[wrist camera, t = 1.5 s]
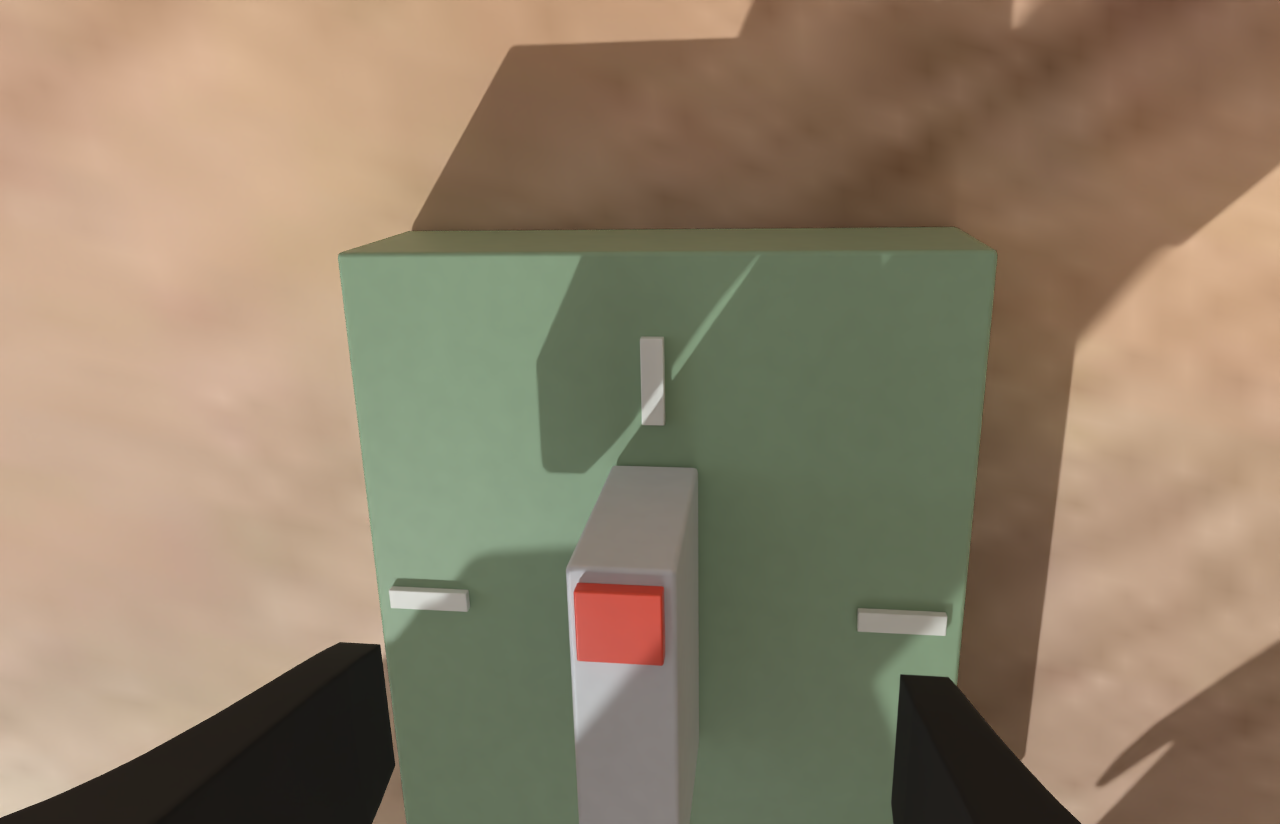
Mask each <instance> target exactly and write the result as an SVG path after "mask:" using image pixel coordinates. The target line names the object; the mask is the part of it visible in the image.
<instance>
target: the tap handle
mask: <svg viewBox="0 0 1280 824" xmlns="http://www.w3.org/2000/svg"><path fill="white" fill-rule="evenodd" d="M566 582H567V601H568V620H569V640H570V659H571V678H572V697H573V716H574V736H575V755H576V774H577V793H578V813H579V824H689V823H690V815H691V806H692V797H693V789H694V780H695V772H696V763H697V754H698V746H699V605H698V471H697V469H695V468H682V467H646V466H613V467H612V469H611V471H610V473H609V475H608V477H607V480H606V482H605V484H604V486H603V488H602V490H601V493H600V495H599V497H598V499H597V501H596V504H595V506H594V508H593V510H592V512H591V515H590V517H589V519H588V521H587V523H586V526H585V528H584V530H583V532H582V534H581V537H580V539H579V541H578V543H577V545H576V548H575V550H574V552H573V554H572V556H571V559H570V561H569V563H568V565H567V568H566Z"/></svg>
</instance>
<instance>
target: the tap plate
mask: <svg viewBox="0 0 1280 824" xmlns="http://www.w3.org/2000/svg"><path fill="white" fill-rule="evenodd" d="M997 256H998V255H997V252H996V250H994V249H992V248H991V247H989V246H987V245H985V244H984V243H982V242H980V241H979V240H977V239H975V238H974V237H972V236H970V235H969V234H967V233H965V232H964V231H962V230H960V229H958V228H956V227H884V228H752V229H620V230H488V231H408V232H405V233H402V234H398V235H395V236H392V237H389V238H386V239H382V240H379V241H376V242H373V243H370V244H367V245H363V246H360V247H357V248H354V249H351V250H347V251H344V252H342V253H339V256H338V261H339V270H340V278H341V286H342V295H343V303H344V311H345V319H346V328H347V336H348V344H349V352H350V361H351V369H352V377H353V385H354V394H355V402H356V410H357V418H358V427H359V435H360V443H361V451H362V460H363V468H364V476H365V484H366V493H367V501H368V509H369V518H370V526H371V534H372V542H373V551H374V559H375V567H376V575H377V584H378V592H379V600H380V608H381V617H382V625H383V633H384V641H385V650H386V658H387V666H388V674H389V683H390V691H391V699H392V708H393V716H394V724H395V732H396V741H397V749H398V757H399V765H400V774H401V782H402V790H403V798H404V807H405V815H406V823H407V824H579V813H578V793H577V774H576V755H575V736H574V716H573V697H572V678H571V659H570V640H569V620H568V601H567V582H566V568H567V565H568V563H569V561H570V559H571V556H572V554H573V552H574V550H575V548H576V545H577V543H578V541H579V539H580V537H581V534H582V532H583V530H584V528H585V526H586V523H587V521H588V519H589V517H590V515H591V512H592V510H593V508H594V506H595V504H596V501H597V499H598V497H599V495H600V493H601V490H602V488H603V486H604V484H605V482H606V480H607V477H608V475H609V473H610V471H611V469H612V467H613V466H646V467H682V468H695V469H697V471H698V605H699V746H698V754H697V763H696V772H695V780H694V789H693V797H692V806H691V815H690V823H689V824H893V816H892V807H891V797H892V783H893V769H894V756H895V742H896V728H897V714H898V701H899V687H900V674H905V675H922V676H940V677H949V678H950V679H951V680H952V681H953V682H954V684H955V685H956V686H957V681H958V670H959V659H960V649H961V638H962V627H963V617H964V606H965V596H966V585H967V574H968V564H969V553H970V542H971V532H972V521H973V511H974V500H975V489H976V479H977V468H978V457H979V447H980V436H981V426H982V415H983V404H984V394H985V383H986V372H987V362H988V351H989V341H990V330H991V319H992V309H993V298H994V287H995V277H996V266H997Z"/></svg>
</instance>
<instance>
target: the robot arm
mask: <svg viewBox="0 0 1280 824" xmlns="http://www.w3.org/2000/svg"><path fill="white" fill-rule="evenodd" d="M394 767H395V760H394V752H393V744H392V736H391V728H390V720H389V712H388V704H387V696H386V688H385V679H384V671H383V663H382V655H381V647H380V645H378V644H360V643H343V642H340V643H338V644H336V645H334V646H332V647H329V648H327V649H326V650H324V651H322V652H320V653H318V654H316V655H315V656H313V657H311V658H309V659H308V660H306V661H304V662H303V663H301V664H299V665H297V666H296V667H294V668H292V669H291V670H289V671H287V672H286V673H284V674H282V675H281V676H279V677H278V678H276V679H274V680H273V681H271V682H269V683H268V684H266V685H264V686H263V687H261V688H259V689H258V690H256V691H254V692H253V693H251V694H249V695H248V696H246V697H244V698H243V699H241V700H239V701H238V702H236V703H234V704H233V705H231V706H229V707H228V708H226V709H224V710H223V711H221V712H219V713H217V714H216V715H214V716H212V717H210V718H209V719H207V720H205V721H203V722H201V723H200V724H198V725H196V726H194V727H192V728H191V729H189V730H187V731H185V732H183V733H182V734H180V735H178V736H176V737H174V738H172V739H171V740H169V741H167V742H165V743H163V744H162V745H160V746H158V747H156V748H154V749H153V750H151V751H149V752H147V753H145V754H143V755H141V756H139V757H137V758H135V759H134V760H132V761H130V762H128V763H126V764H124V765H121V766H119V767H117V768H115V769H113V770H111V771H109V772H107V773H105V774H103V775H101V776H99V777H96V778H94V779H92V780H90V781H88V782H85V783H83V784H81V785H79V786H77V787H75V788H72V789H70V790H68V791H66V792H64V793H61V794H59V795H57V796H54V797H52V798H50V799H47V800H45V801H42V802H40V803H37V804H35V805H32V806H30V807H27V808H24V809H22V810H19V811H17V812H14V813H12V814H9V815H7V816H4V817H1V818H0V824H372V822H373V820H374V817H375V815H376V813H377V810H378V808H379V806H380V803H381V801H382V798H383V796H384V793H385V790H386V788H387V785H388V783H389V780H390V777H391V775H392V772H393V770H394ZM891 807H892V816H893V824H1081V823H1080V822H1079V821H1078V820H1077V819H1076V818H1075V817H1074V816H1073V815H1072V814H1071V813H1070V812H1069V811H1068V810H1067V809H1066V808H1065V807H1063V806H1062V805H1061V804H1060V803H1059V802H1058V801H1057V800H1056V799H1055V797H1054V796H1053V795H1052V794H1051V793H1050V792H1049V791H1048V790H1047V789H1046V788H1045V787H1044V786H1043V785H1042V784H1041V783H1040V782H1039V781H1038V780H1037V778H1036V777H1035V776H1034V775H1033V774H1032V773H1031V772H1030V771H1029V770H1028V769H1027V768H1026V767H1025V765H1024V764H1023V763H1022V762H1021V761H1020V760H1019V759H1018V758H1017V757H1016V756H1015V755H1014V753H1013V752H1012V751H1011V750H1010V749H1009V748H1008V747H1007V745H1006V744H1005V743H1004V742H1003V741H1002V740H1001V739H1000V737H999V736H998V735H997V734H996V733H995V731H994V730H993V729H992V728H991V727H990V726H989V724H988V723H987V722H986V721H985V720H984V718H983V717H982V716H981V715H980V714H979V712H978V711H977V710H976V709H975V708H974V706H973V705H972V704H971V703H970V701H969V700H968V699H967V698H966V697H965V695H964V694H963V693H962V692H961V691H960V689H959V688H958V687H957V686H956V685H955V684H954V682H953V681H952V680H951V679H950V678H949V677H940V676H922V675H905V674H900V687H899V701H898V714H897V728H896V742H895V756H894V769H893V783H892V797H891Z"/></svg>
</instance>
